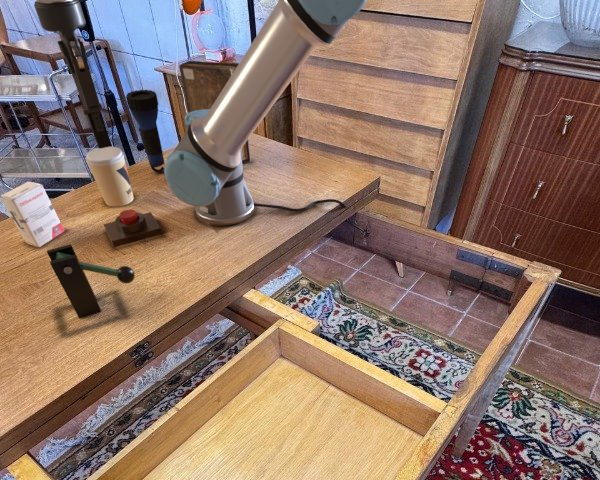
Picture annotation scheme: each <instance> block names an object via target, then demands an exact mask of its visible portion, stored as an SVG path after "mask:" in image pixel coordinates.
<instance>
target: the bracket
mask: <svg viewBox="0 0 600 480" xmlns="http://www.w3.org/2000/svg"><path fill="white" fill-rule="evenodd" d="M57 252H60V253H64V254H69V255H71V256H68V257H64V258H60V259H57V260H56V255H57ZM46 254H47V256H48V257H49V260H50V261H49V263H50V267H51V268H52V270H53V272H54V274H55V275H56V277H57V280H58V282H59V284H60V285H61V287H62V289H63V291H64V292H65V294H66V296H67V298H68V300H69V303H70V304H71V306H72V308H73V310H74V312H75V314H76V315H77V318H78V319H82V318H85V317H86V318H87V317H89V316H93V315H96V314H98V313H101V312H102V309H101V307H100V305H99V302H98V299H97V297H96V295H95V292H94V289H93V288H92V286H91V283H90V281H89V280H88V277H87V275H86V273H85V270H82V268H81V266H80V264H79V262H80V260H79V258H78V256H77V253H76V252H75V250H74V247H73V245H72V244H71V243H70V244H67V245H63V246H58V247H55V248H50V249H48V250H46ZM78 261H79V262H78Z"/></svg>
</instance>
